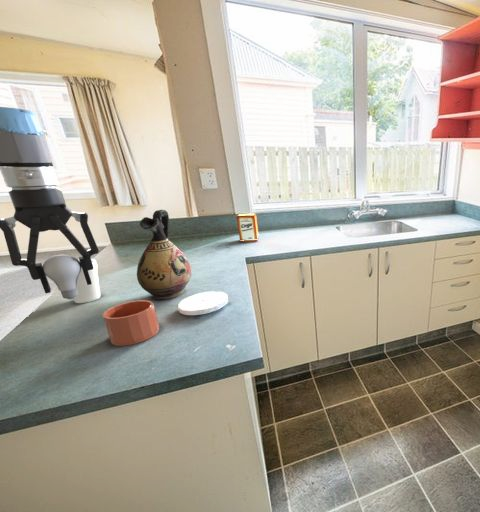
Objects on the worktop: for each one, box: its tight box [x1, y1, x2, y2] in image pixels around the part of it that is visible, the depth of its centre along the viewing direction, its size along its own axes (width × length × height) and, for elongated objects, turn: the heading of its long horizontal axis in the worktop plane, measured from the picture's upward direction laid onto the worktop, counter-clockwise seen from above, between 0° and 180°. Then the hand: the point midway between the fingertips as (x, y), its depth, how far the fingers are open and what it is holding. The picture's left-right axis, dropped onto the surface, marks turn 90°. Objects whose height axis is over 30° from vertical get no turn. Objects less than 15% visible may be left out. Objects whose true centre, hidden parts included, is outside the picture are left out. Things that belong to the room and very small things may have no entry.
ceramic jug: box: [136, 209, 193, 301], centre depth 102 cm, size 17×15×30 cm
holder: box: [102, 299, 160, 347], centre depth 80 cm, size 10×10×8 cm
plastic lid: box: [177, 291, 229, 316], centre depth 97 cm, size 14×14×2 cm
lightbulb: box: [42, 254, 81, 300], centre depth 69 cm, size 6×6×11 cm
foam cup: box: [72, 258, 101, 304], centre depth 100 cm, size 10×9×13 cm
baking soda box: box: [236, 213, 260, 243], centre depth 175 cm, size 10×6×16 cm
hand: (69, 286), depth 70 cm, fingers closed on lightbulb, 6 cm apart
